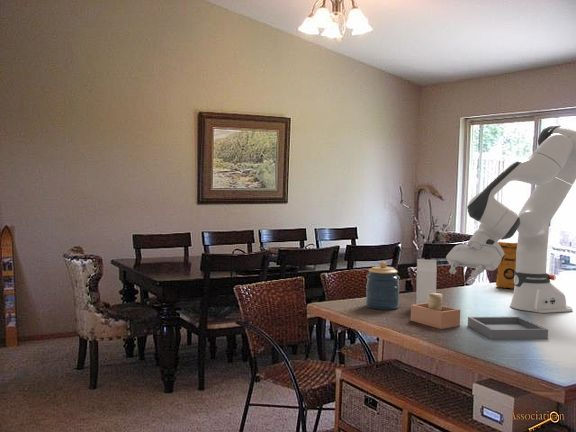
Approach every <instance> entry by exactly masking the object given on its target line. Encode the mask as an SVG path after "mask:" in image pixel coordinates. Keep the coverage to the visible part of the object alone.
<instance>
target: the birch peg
mask: <svg viewBox="0 0 576 432" xmlns="http://www.w3.org/2000/svg"><path fill="white" fill-rule="evenodd" d="M442 306H443V294H442V293H437V292H436V293H429V304H428V308H429V309H433V310H437V311H441V312H442Z"/></svg>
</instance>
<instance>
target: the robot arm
mask: <svg viewBox="0 0 576 432" xmlns="http://www.w3.org/2000/svg"><path fill="white" fill-rule="evenodd" d="M537 144H538V145H537V146H538V147H537V148H536V149H535V150H534V151H533V152H532V153H531V155H530V156H529V157H528V158H527V159H524V160H522V161H521V160H517V161H515V162H513V163H512V164H510V165H509V166H508V167H507V168H506V169H504V170H503V171H502V172H501V173H500V174H499V175H497V177H495V178H494V179H493V180H492V182H490V183H489V184H488V185H487V186H486V187H484V189H483V190H482V191H480V192H479V193H477V194H476V195H475V196H474V197H472V198H471V199H470V201H469V202H468V205H467V206H466V208H467V213H468V216H469V217H470V218H472V219H474V220H475V221H477V222H479V223H480V224H479V225H478V229H477V230H475V232H474V233H473V234H472V236H471V238H470V239H469V240H468V242H467V243H460V244H456V245H455V246H454V247H452V249H451V250H450V251H449V252H448V253H447V255H446V256H445V259H446V261H447V263H448V264H449V265H450V269H449V270H448V271H449V273H450V274H451V275H456V273H457V269H456V268H458V267H464V268H465V267H466V268H469V269H470V268H471V269H472V268H473V269H475V270H472V271H471V273H470V276H471V277H472V278H475V279H477V277H478V276H479V275H481V274H482V273H484V271H491V272H493V271H495V270H496V269H498V266H499V264H500V262H501V260H502V258H501V257H503V256H504V254H505V253H504V251H503V249H502V248H501V246H500V245H499V243H498V242H499V241H500V240H508V239H510V238H512V237H513V236H514V235H515V233H516V232H518V233H517V234H518V236H517V242H516V243H517V250H516V271H515V272H514V285H515V287H514V289H513V294H512V298H511V302H510V305H509V307H510V308H512V309H515V310H521V311H527V312H535V313H539V314H542V313H543V314H545V313H546V314H548V313H549V314H550V313H565V312H573V307H571V306H569V305H567V300H566V295H565V294H564V293H563V292H562V291H561V290H560V289H558V288H557V287H556V286H555V285H554V284H553V283H551V281H555V280H556V279H557V277H556V275H555V274H549V273H548V272H547V263H548V262H547V261H548V259H547V257H548V256H547V255H548V246H549V245H548V244H549V232H550V222H551V221H552V220H553V218H554V216H555V215H556V212H557V211H558V210H559V208H560V207H561V205H562V203H563V202H564V200H565V198H566V197H567V195H568V194H569V192H570V190H571V188H572V187H573V185H574V183H575V181H576V130H574V129H570V128H566V127H563V126H561V125H559V124H555V123H554V124H553V123H552V124H549V125H546V126H545V127H543V129H542V130H541V132H540V134H539V136H538V139H537ZM513 181H518V182H523V183H525V184H529V185H536V186H535V188H534V189H533V191H532V193H531V194H530V196H528V199H527V200H526V202H525V203H524V204H523V206H522V208H521V209H520V211H519V213H516V212H515V211H513V210H512V209H510V208H509V207H507V205H504V204H503V203H502V202H500V201H498V199H496V197H495V196H496V194H498V193H499V192H500V191H501V190H502V189H503V188H504V187H505V186H506V185H507V184H508V183H509V182H513Z"/></svg>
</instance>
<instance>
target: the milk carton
mask: <svg viewBox="0 0 576 432" xmlns="http://www.w3.org/2000/svg"><path fill="white" fill-rule="evenodd" d="M416 261H417V262H416V288H415V289H416V293H415V295H416V296H415V304H421V303H429V293H437V274H438V273H437V270H438V269H437V259H420V258H419V259H418V258H417V259H416Z"/></svg>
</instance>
